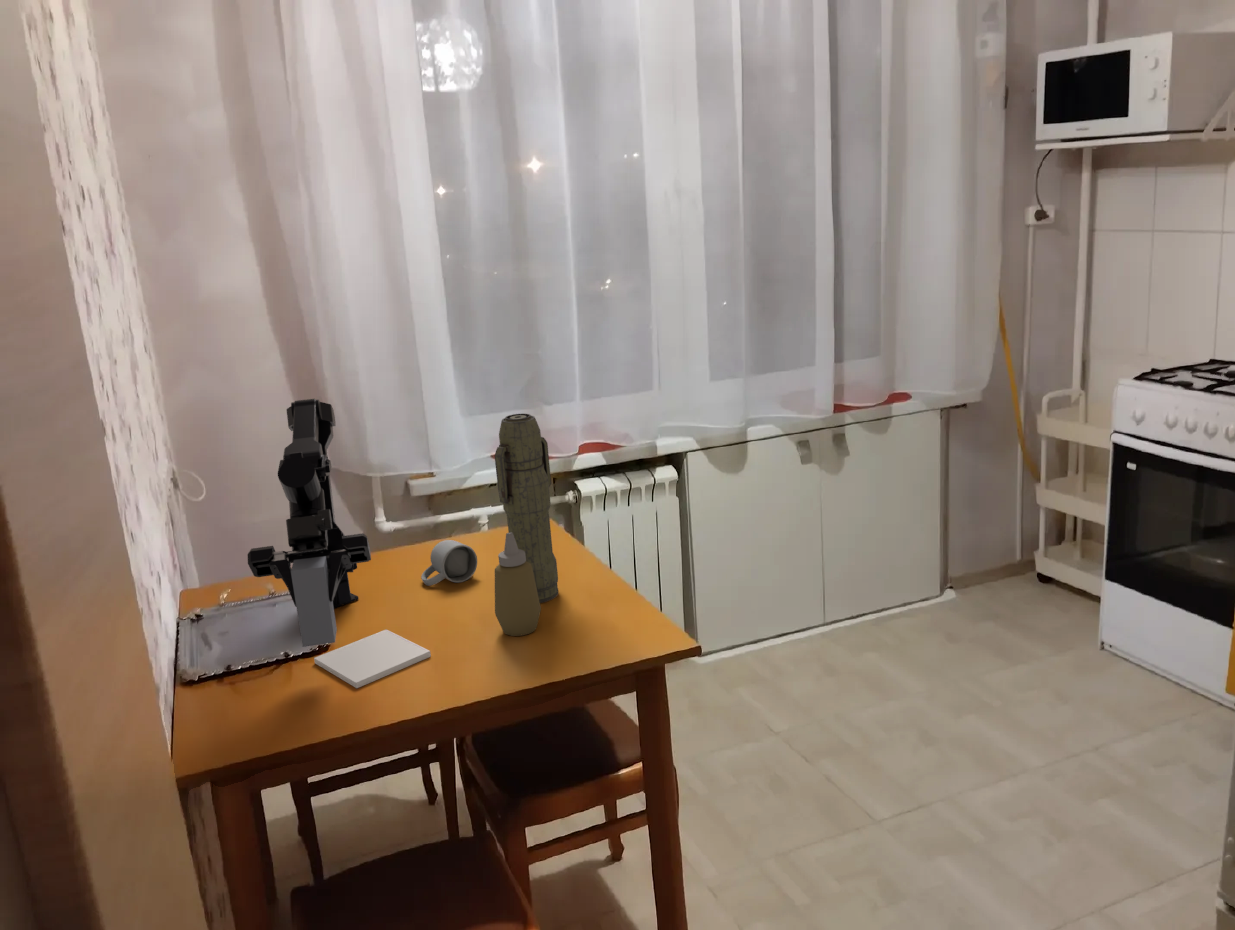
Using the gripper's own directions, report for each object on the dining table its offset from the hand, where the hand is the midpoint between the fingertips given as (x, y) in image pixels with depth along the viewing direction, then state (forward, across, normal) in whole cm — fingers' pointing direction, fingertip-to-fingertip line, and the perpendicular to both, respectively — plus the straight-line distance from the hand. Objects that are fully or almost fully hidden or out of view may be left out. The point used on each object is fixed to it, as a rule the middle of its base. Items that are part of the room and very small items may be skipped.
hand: (313, 603), depth 157 cm
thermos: (-6, +38, +25) cm, 46 cm away
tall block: (+4, 0, +6) cm, 7 cm away
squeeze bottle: (+5, +33, +14) cm, 36 cm away
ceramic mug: (-16, +22, +36) cm, 45 cm away
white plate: (+6, +7, +12) cm, 16 cm away
